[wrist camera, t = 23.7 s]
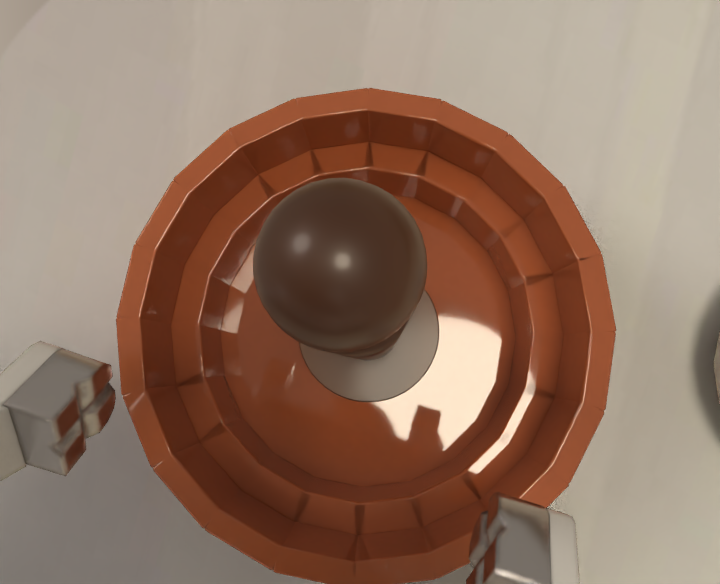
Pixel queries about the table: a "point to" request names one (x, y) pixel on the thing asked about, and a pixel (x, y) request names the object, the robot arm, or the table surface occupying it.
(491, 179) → the bowl
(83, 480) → the table surface
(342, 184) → the wooden tamper
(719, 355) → the donut
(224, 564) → the table surface
